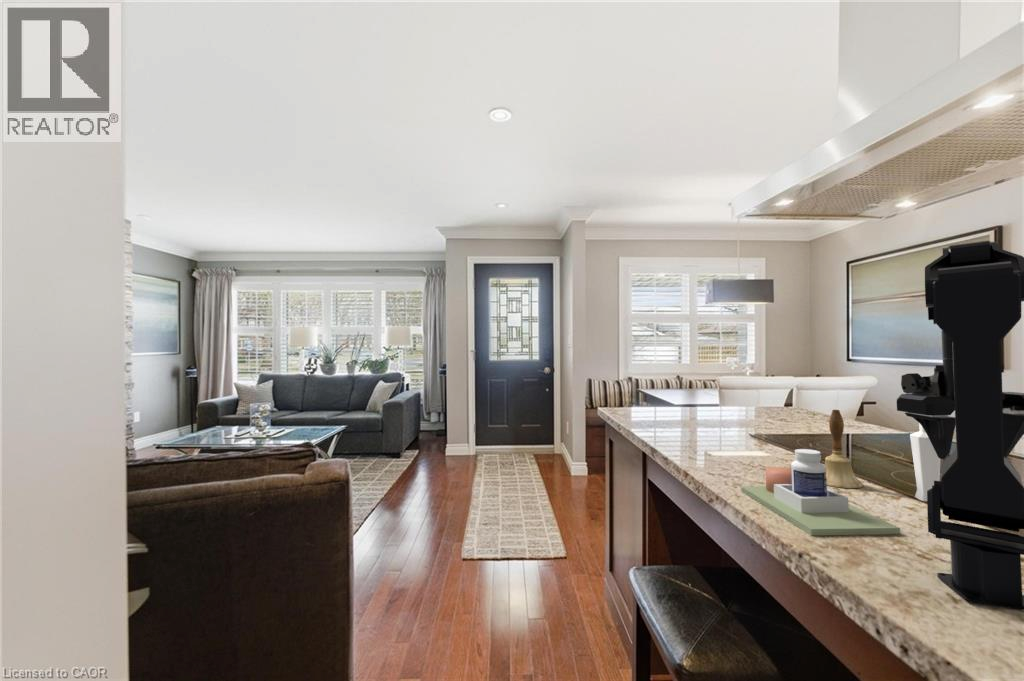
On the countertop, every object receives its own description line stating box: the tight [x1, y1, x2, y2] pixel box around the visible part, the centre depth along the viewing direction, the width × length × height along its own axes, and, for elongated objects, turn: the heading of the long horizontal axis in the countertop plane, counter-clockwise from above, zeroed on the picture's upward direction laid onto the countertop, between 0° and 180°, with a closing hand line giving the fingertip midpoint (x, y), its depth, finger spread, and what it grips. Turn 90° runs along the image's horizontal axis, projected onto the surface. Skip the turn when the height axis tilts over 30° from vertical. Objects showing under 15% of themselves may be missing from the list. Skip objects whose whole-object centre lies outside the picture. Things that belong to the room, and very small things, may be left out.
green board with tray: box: [740, 466, 901, 536], centre depth 81 cm, size 22×14×5 cm, turn 179°
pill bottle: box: [790, 448, 828, 497], centre depth 81 cm, size 5×5×10 cm
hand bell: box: [824, 409, 864, 489], centre depth 97 cm, size 8×8×16 cm
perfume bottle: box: [909, 422, 942, 503], centre depth 85 cm, size 5×4×15 cm
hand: (972, 458), depth 69 cm, fingers open, 9 cm apart
